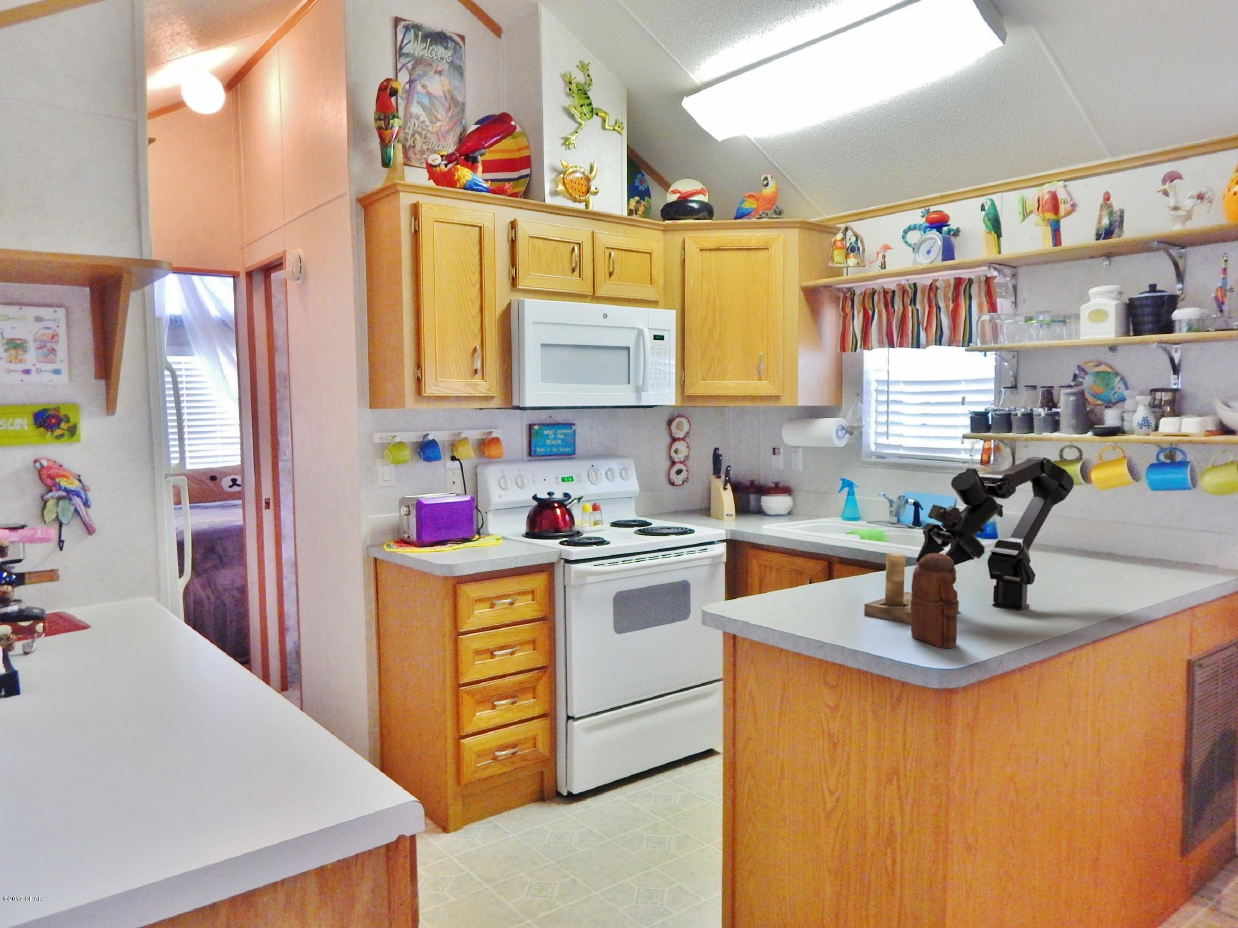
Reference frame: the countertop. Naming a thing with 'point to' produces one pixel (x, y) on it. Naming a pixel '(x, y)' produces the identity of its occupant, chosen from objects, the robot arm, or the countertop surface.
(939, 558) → the wooden figurine
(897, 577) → the oak peg
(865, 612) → the walnut board
